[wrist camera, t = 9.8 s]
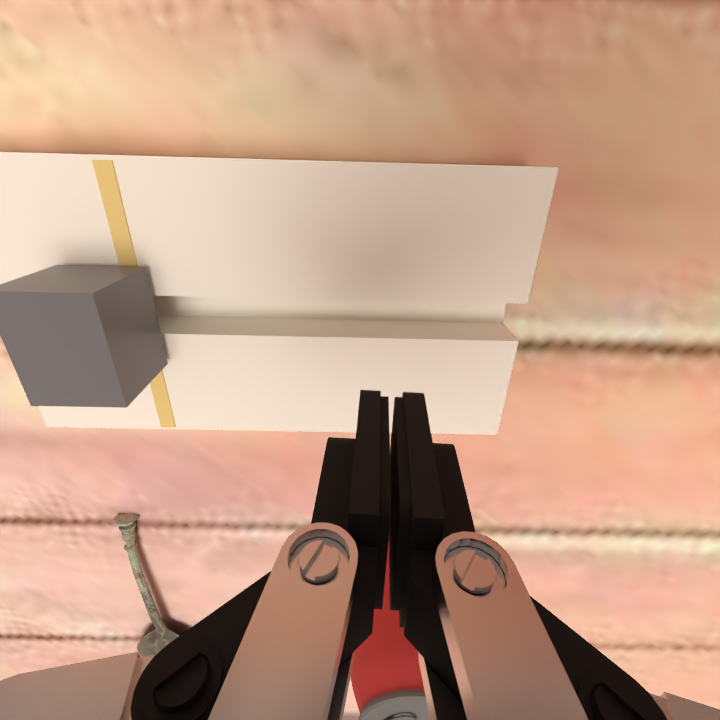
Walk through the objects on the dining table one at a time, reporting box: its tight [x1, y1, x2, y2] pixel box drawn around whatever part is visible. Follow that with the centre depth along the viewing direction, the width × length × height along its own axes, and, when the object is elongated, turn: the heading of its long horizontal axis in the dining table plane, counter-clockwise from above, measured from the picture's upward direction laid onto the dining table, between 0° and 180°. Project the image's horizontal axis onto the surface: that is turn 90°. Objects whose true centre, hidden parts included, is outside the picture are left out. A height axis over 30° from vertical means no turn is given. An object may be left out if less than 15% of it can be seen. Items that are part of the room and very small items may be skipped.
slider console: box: [0, 152, 559, 435], centre depth 21 cm, size 26×14×4 cm, turn 89°
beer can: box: [351, 542, 430, 720], centre depth 26 cm, size 7×7×12 cm
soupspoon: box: [113, 514, 180, 657], centre depth 35 cm, size 22×3×7 cm
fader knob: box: [0, 265, 168, 408], centre depth 18 cm, size 4×5×6 cm
